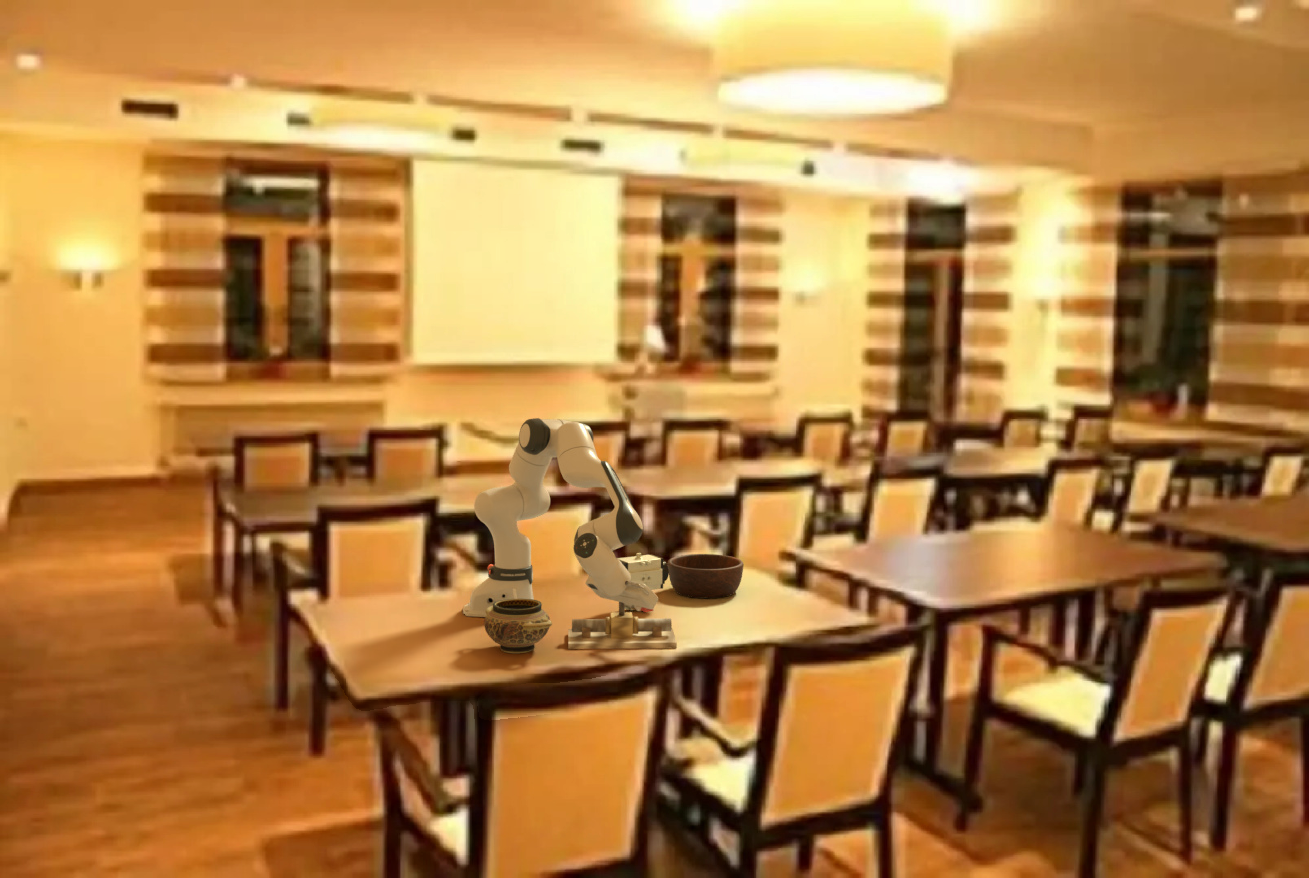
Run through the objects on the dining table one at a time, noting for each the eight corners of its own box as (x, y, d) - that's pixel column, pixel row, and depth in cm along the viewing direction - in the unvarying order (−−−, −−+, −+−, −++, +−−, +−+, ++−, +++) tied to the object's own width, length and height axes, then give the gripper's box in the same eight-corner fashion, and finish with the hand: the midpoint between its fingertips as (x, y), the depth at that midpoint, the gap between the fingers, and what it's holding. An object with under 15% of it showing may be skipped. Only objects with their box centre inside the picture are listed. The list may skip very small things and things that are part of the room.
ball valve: (621, 616, 384) (621, 559, 382) (607, 610, 391) (607, 553, 389) (671, 609, 393) (671, 553, 391) (656, 603, 400) (657, 548, 398)
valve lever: (614, 601, 356) (614, 594, 356) (623, 599, 358) (623, 592, 357) (644, 612, 344) (644, 605, 343) (653, 610, 345) (653, 603, 345)
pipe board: (568, 648, 348) (568, 608, 347) (568, 634, 363) (568, 595, 362) (676, 647, 350) (677, 607, 349) (672, 633, 365) (672, 594, 364)
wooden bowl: (652, 593, 413) (652, 562, 412) (694, 579, 434) (694, 550, 432) (717, 605, 399) (717, 573, 398) (757, 590, 419) (757, 559, 418)
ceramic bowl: (563, 664, 343) (574, 609, 344) (511, 660, 332) (522, 603, 332) (511, 645, 362) (522, 593, 362) (460, 640, 350) (471, 587, 351)
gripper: (648, 575, 331) (671, 605, 340) (592, 563, 345) (616, 592, 353) (636, 595, 328) (660, 624, 337) (580, 582, 342) (605, 611, 350)
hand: (637, 608), depth 345 cm, fingers closed
